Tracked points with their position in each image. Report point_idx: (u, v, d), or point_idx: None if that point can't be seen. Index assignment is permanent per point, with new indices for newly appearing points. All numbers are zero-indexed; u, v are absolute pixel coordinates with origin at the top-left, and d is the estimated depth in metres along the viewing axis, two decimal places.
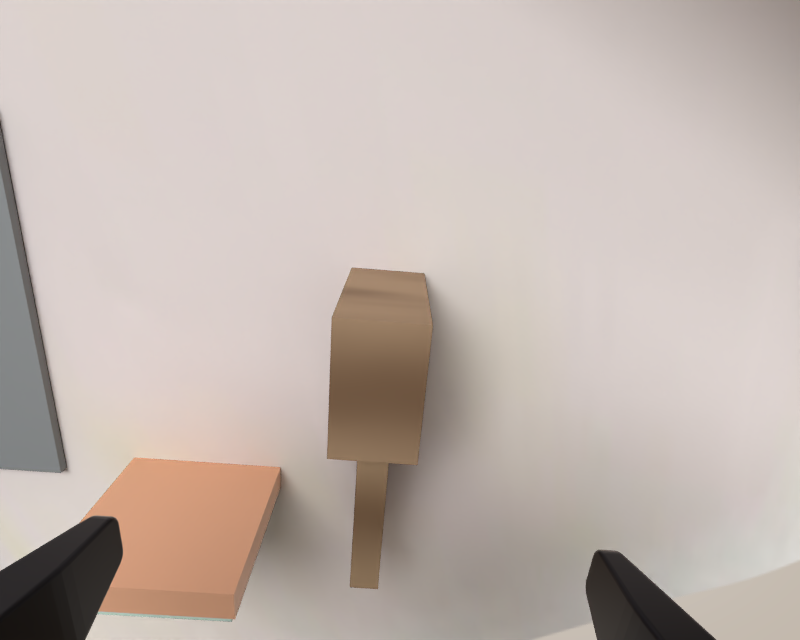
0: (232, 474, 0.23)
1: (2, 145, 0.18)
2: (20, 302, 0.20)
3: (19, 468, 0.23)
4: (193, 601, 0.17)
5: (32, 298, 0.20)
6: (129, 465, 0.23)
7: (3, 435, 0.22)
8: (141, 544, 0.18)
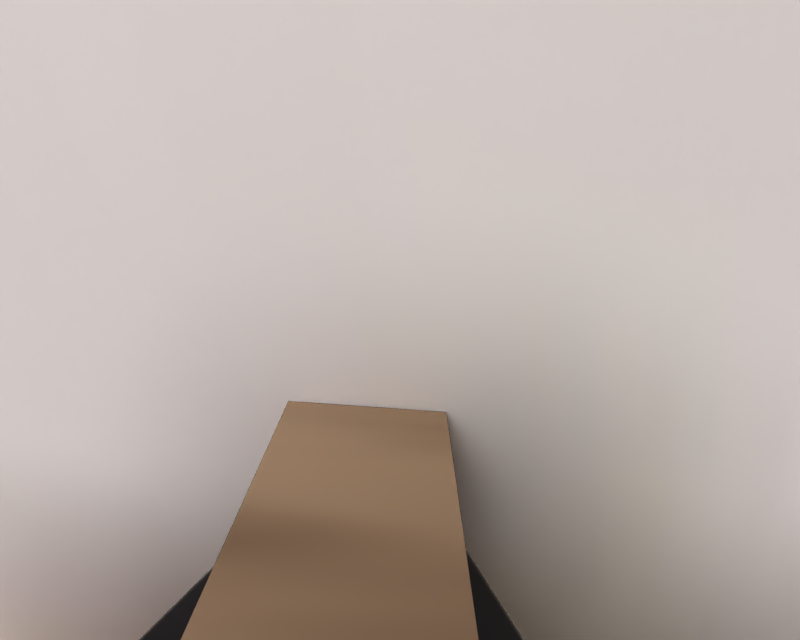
0: None
1: None
2: None
3: None
4: None
5: None
6: None
7: None
8: None
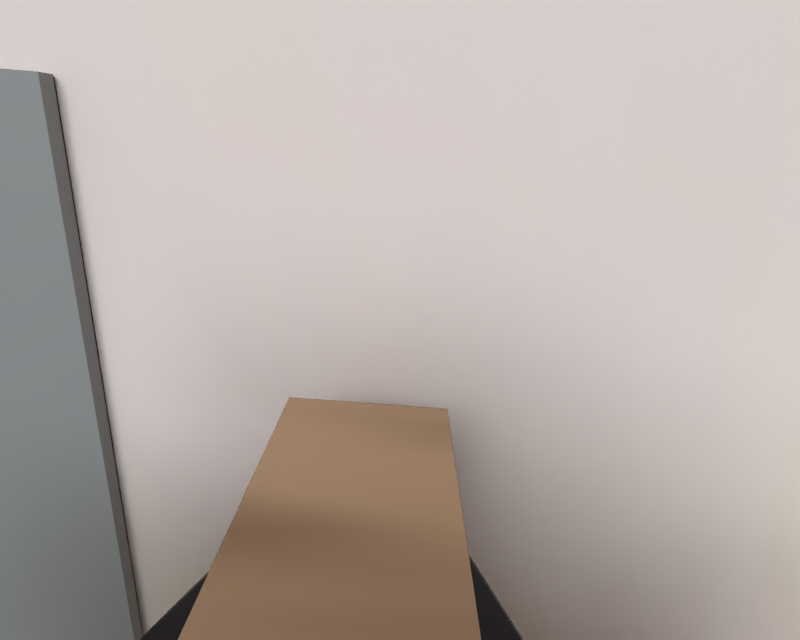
0: None
1: (61, 146, 0.10)
2: (85, 415, 0.12)
3: None
4: None
5: (103, 406, 0.12)
6: None
7: (51, 606, 0.14)
8: None
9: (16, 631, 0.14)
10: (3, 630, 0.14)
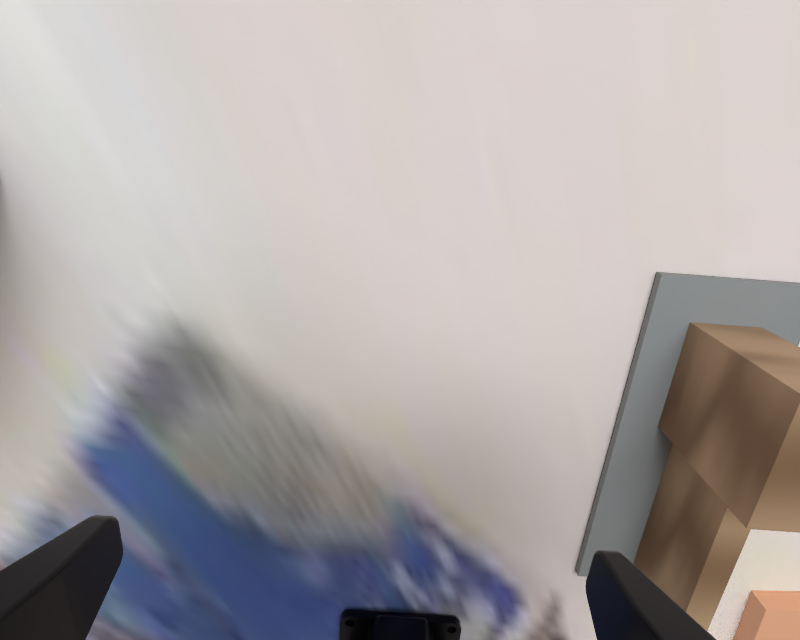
0: None
1: None
2: None
3: None
4: None
5: None
6: (763, 618, 0.25)
7: None
8: None
9: None
10: None
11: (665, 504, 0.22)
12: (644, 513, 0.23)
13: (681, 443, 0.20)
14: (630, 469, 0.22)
